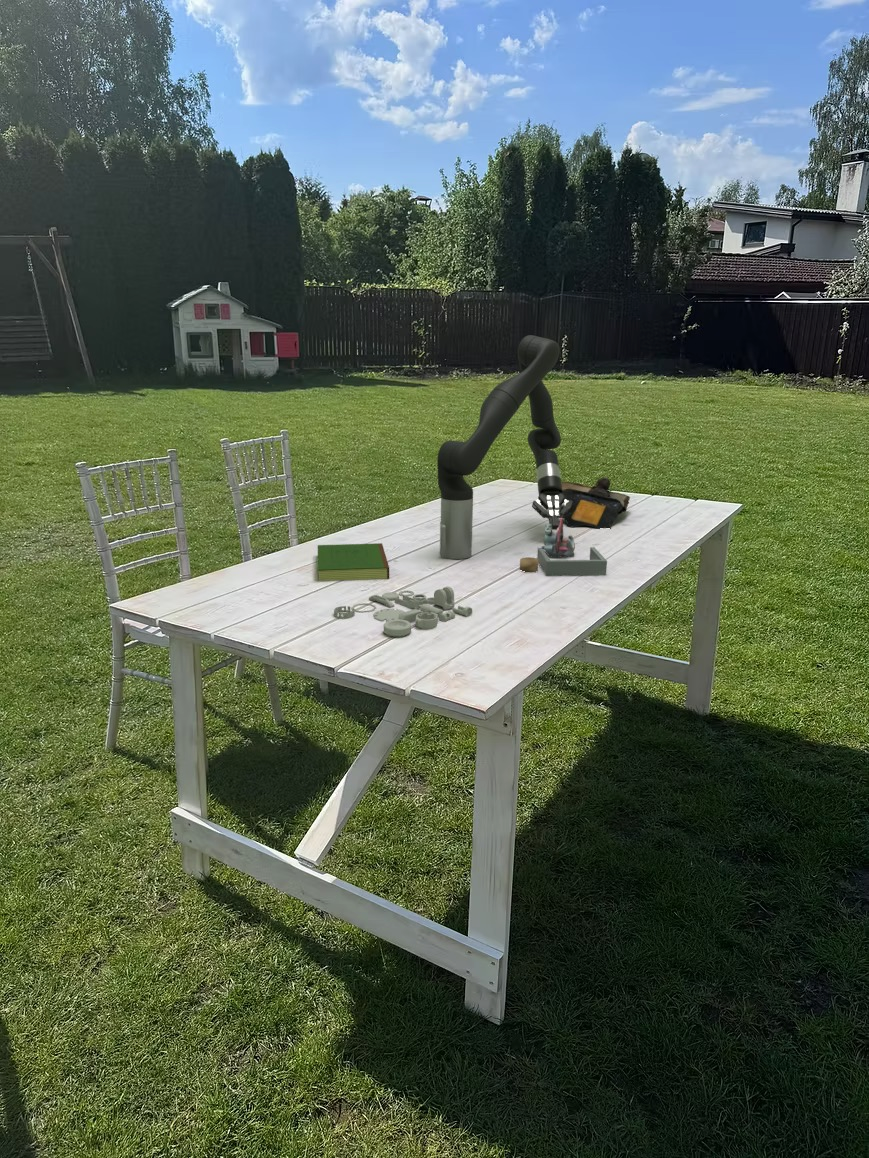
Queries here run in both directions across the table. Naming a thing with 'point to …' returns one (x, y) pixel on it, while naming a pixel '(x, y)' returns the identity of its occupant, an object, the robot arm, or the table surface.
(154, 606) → the table surface
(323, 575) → the hardcover book
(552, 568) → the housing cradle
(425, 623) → the robot parts
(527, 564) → the tan rounded lump
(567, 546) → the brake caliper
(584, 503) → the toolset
